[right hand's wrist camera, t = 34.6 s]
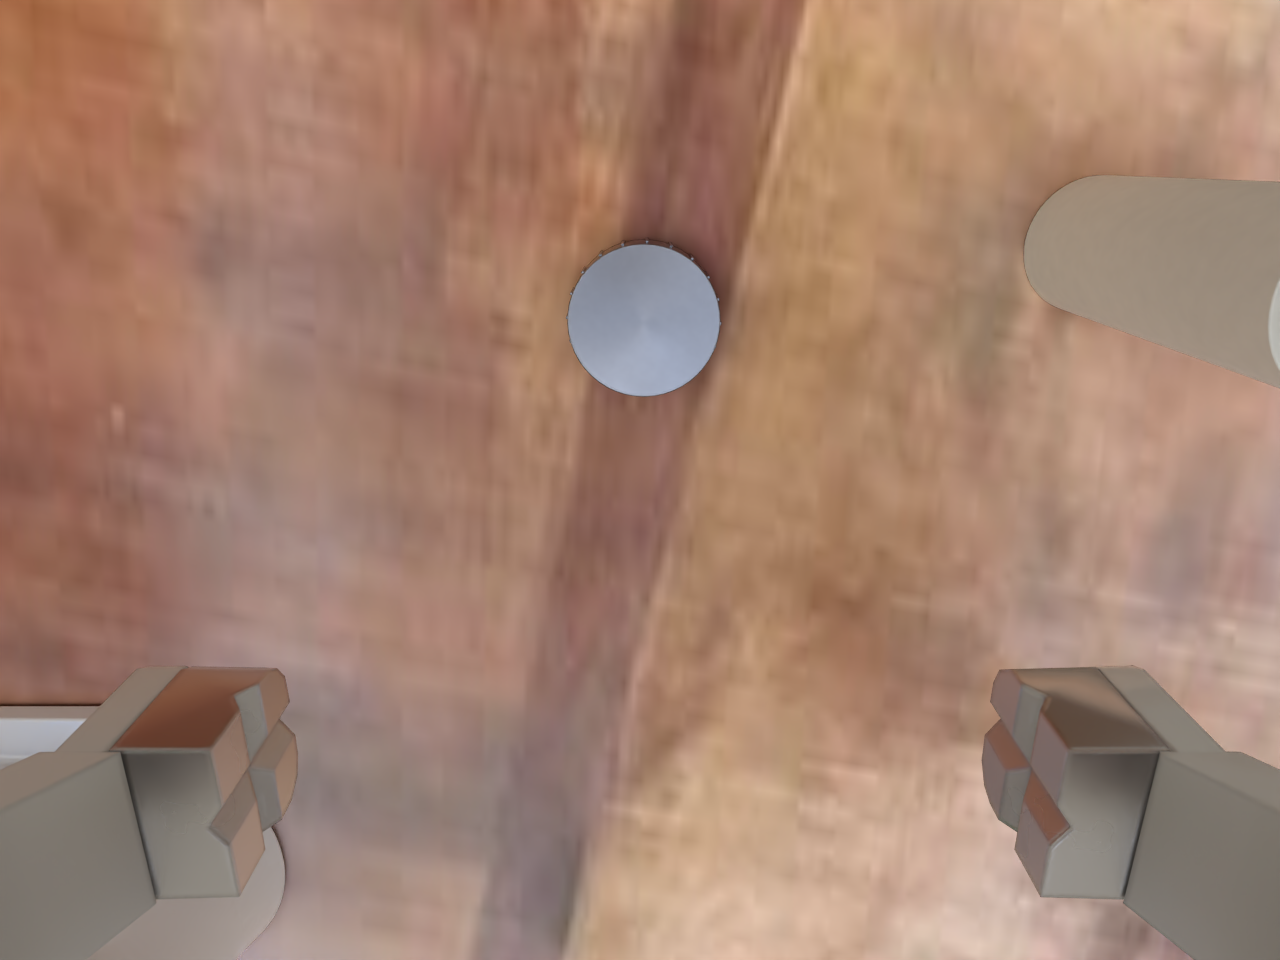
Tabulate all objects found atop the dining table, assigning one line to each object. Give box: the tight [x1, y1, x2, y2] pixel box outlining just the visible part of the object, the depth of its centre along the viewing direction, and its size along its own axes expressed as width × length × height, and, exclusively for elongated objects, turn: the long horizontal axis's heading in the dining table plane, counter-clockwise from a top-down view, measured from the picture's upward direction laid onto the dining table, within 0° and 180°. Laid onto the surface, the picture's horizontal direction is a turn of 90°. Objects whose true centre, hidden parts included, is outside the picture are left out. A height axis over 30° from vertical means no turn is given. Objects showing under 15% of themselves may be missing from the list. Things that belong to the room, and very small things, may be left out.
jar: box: [1024, 175, 1280, 388], centre depth 28 cm, size 5×5×16 cm
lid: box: [566, 237, 721, 397], centre depth 35 cm, size 6×6×2 cm
